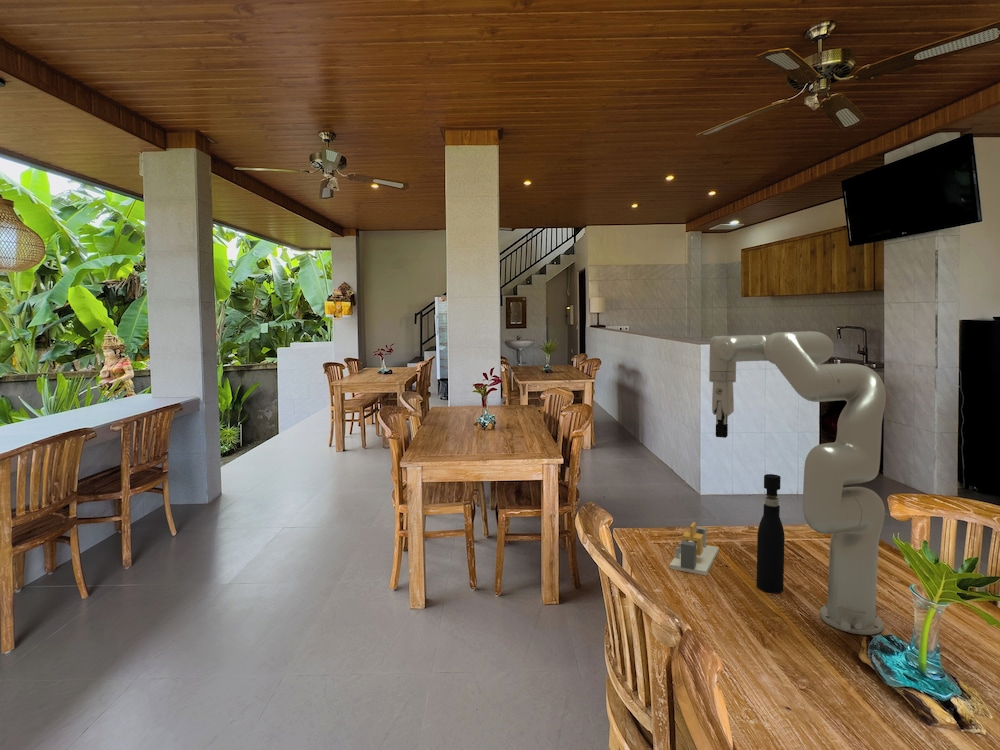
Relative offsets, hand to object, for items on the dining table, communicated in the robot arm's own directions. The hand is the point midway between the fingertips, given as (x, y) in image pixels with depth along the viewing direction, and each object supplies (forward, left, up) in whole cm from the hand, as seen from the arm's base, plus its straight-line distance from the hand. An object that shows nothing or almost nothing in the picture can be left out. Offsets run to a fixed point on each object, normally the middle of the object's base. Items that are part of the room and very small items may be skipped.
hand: (721, 436), depth 176 cm
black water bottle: (-22, -16, -35) cm, 45 cm away
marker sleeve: (-15, +5, -32) cm, 35 cm away
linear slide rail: (-12, +5, -35) cm, 37 cm away
